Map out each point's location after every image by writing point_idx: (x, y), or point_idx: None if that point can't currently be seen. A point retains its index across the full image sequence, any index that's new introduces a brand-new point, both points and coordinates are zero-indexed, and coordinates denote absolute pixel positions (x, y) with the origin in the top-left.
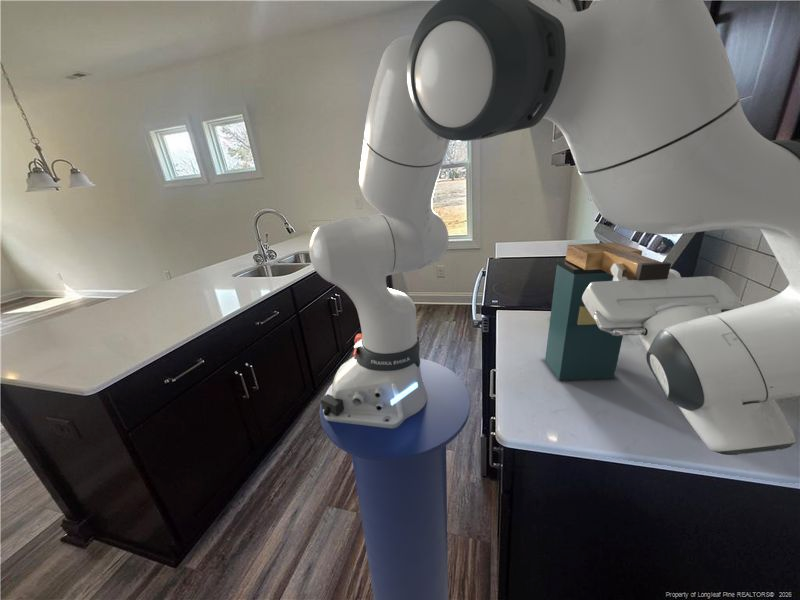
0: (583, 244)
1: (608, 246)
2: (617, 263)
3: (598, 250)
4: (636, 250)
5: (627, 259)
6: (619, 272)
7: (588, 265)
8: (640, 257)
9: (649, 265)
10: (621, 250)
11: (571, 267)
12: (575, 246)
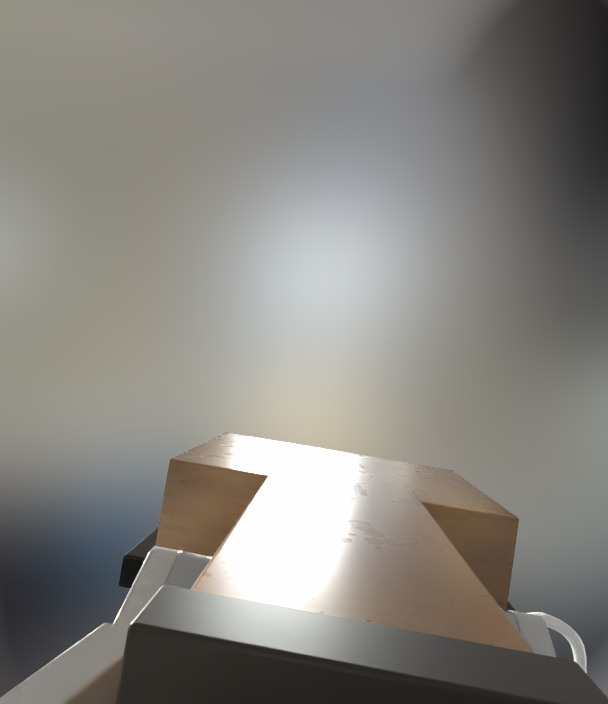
0: (293, 445)
1: (378, 469)
2: (176, 551)
3: (279, 465)
4: (484, 509)
5: (244, 528)
6: (79, 658)
7: (174, 542)
8: (396, 541)
9: (248, 665)
10: (378, 484)
11: (145, 541)
12: (234, 439)
